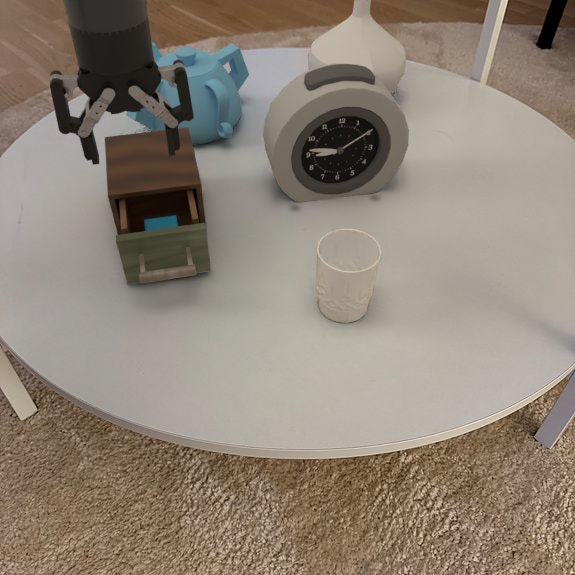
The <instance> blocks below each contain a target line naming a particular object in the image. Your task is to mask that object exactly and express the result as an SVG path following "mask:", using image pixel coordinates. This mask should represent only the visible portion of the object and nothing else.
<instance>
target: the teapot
mask: <svg viewBox="0 0 575 575" xmlns="http://www.w3.org/2000/svg"><path fill="white" fill-rule="evenodd" d="M152 48H153V55H154V61H155V63H156V64H157V65H158V67H162V66H169V65H173V62H174V61H175V60H181V61H182V62H183V63H184V66H185V70H186V73H187V79H188V84H189V90H190V96H191V102H192V108H193V114H194V118H193V119H192V120H191V121H183V122H181V123H180V124H179V125H178V129H179V128H189V132H190V136H191V141H192V145H193V146H194V145H195V146H196V145H203V144H207V143H210V142H214V141H217V140H219V139H221V138H222V139H228V138H231V137H232V136H233V134H234V127H235V125H236V124H237V123H238V122H239V121H240V117H241V116H242V110H243V109H242V101H241V96H240V94H239V91H240V89H241V88H242V86H243V85H244V83H245V82H246V80H247V78H249V76H250V73H249V70H248V67H247V65H246V62H245V58H244V56H243V54H242V51H241V48H240V47H238V46H237V45H235V44H234V43H230V44H228V45H226V46H224V47H222V48H221V49H219V50H217V51H215V52H214V53H210V52H207V51H204V50H201V49H197V48H195V47H192V46H181V47H178V48H176V49H175V50H174V51H171V52H168V53H166V54H162V53H161V51H160V50H159V49H158V47H157V44H156V43H154V42H153V41H152ZM226 64H228V65H229V68H230V71H229V72H228V70H227V69H226V68H225V67H224V66H225V65H226ZM156 90H157V91H158V92H159V93H160V94H161V96H162V97H163V99H164V100H165V101H166V102H167V103H169V104H170V105H171V106H172V107H173V108H174V107H176V106H178V105H180V103H179V97H178V92H177V87H176V88H175V87H171V86H170V85H169V83H168V81H167V80H165V79H161V82H160V84H159V86H158V87H157V89H156ZM140 110H141V111H140V112H129V111H126V117H128V118H129V119H131V120H133V121H135V122H137V123H139V124H141V125H143V126H145V127H147V128H148V129H150V130H151V132H153V131H162V130H165V126H164V122H163V121H162V120H161V119H160V118H159V117H155V116H154V115H153V114H152V113H151V112H150V111H149V110H148V109H146V108H145V107H144V108H142V109H140Z"/></svg>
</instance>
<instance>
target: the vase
mask: <svg viewBox="0 0 575 575" xmlns="http://www.w3.org/2000/svg"><path fill="white" fill-rule="evenodd" d="M371 4H372V0H353V7H352V9H353V10H352V13H351V14H350V16H348V17H347V18H346V19H345V20H343V21H342V22H340V23H339V24H337V25H336V26H335V27H333V28H331V29H330V30H328V31H326V32H324V33H322V34H321V35H320V36H318V37H316V39H315V40H313V42H312V44H311V45H310V47H309V51H308V54H307V69H308V71H309V70H311V69H313V68H315V67H320V66H325V65H329V64H354V65H360V66H364V67H367V68H368V69H370V70H371V71H372V73H373V74H374V75H376V76H377V77H378V78H380V79H381V80H382V82H383V83H384V85H385V86H386V88H387V89H388V90H389V92H390V93H391V95H392V94H393V93H394V91H395V90H396V88H397V87H398V85H399V84H400V81H402V79H403V77H404V75H405V71H406V66H407V54H406V50H405V48H404V46H403V44H402V43H401V42H399V40H397V39H396V38H395V37H393V35H392V34H390V33H389V32H388V31H387V30H385V29H384V27H382V26H381V25H380V24H378V22H377V21H375V20H374V18H373V16H372V15H371Z"/></svg>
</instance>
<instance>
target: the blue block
mask: <svg viewBox="0 0 575 575" xmlns="http://www.w3.org/2000/svg"><path fill="white" fill-rule="evenodd" d="M144 224H145V231H150V230H157V229H164V228H171V227H178V222H177V217H176V215H174V216H167V217H160V218H153V219H146V220H144Z"/></svg>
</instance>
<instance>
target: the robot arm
mask: <svg viewBox="0 0 575 575" xmlns="http://www.w3.org/2000/svg"><path fill="white" fill-rule="evenodd" d="M62 3H63V8H64V10H65V16H66V19H67V24H68V29H69V32H70V36H71V40H72V44H73V50H74V53H75V57H76V61H77V65H78V71H77V73H75V74H63V73H62V72H61V70H57V69H56V70H55V69H54V70H51V72H50V77H49V90H50V93H51V94H50V95H51V98H52V103H53V108H54V114H55V116H56V118H55V119H56V122H57V127H58V132H59V133H61V134H62V135H68V134H74V135H76V136H78V138H79V140H80V145H81V148H82V149H81V150H82V152H83V156H84V158H85V159H86V161H87V162H88V161H91V164H92V165H93V166H94V165H100V153H99V149H98V146H97V142H96V141H97V140H96V137H95V134H94V133H95V132H94V128H95V126H96V124H98V123H99V122H100V121H101V118H102V117H103V115H104V114H105V112H107V113H110V115H119V114H121V113H124V112H127V111H129V112H140V111H141V110H140V109H142V108H144V107H145V108H146V109H148V110H149V111H150V112H151V113H152V114H153V115H154V116H155V117H159V118H160V119H161V120H162V121H163V122H164V126H165V133H166V140H167V147H168V152H169V156H173V155H175V151H176V150H179V148H180V141H179V132H178V125H179V124H180V123H181V122H183V121H191V120H192V119H193V118H194V114H193V108H192V102H191V96H190V90H189V84H188V79H187V73H186V70H185V66H184V63H183V62H182V61H181V60H175V61H174V62H173V65H169V66H162V67H158V65H157V64H156V63H155V61H154V55H153V48H152V42H153V41H152V36H151V35H152V34H151V29H150V28H151V26H150V21H149V14H148V7H147V4H148V2H147V0H62ZM161 79H165V80H167V81H168V83H169V85H170V86H171V87H175V88H176V87H177V92H178V97H179V103H180V105H178V106H176V107H174V108H173V107H172V106H171V105H170V104H169V103H167V102H166V101H165V100H164V99H163V97H162V96H161V94H160V93H159V92H158V91H157V90H156V89H157V87H158V86H159V84H160V82H161ZM75 88H78V89H79V90H80V91H81V92H82V93H83V94H85V96H87V97H88V98H87V100H86V102H85V104H84V105H85V106H84V107H83V109H82V111H81V113H80V114H79V116H73V115H71V111H70V107H69V106H70V105H69V100H68V99H69V98H71V97H73V94H74V89H75Z"/></svg>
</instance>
